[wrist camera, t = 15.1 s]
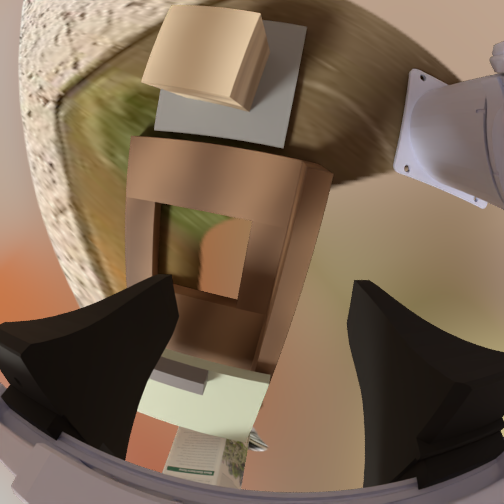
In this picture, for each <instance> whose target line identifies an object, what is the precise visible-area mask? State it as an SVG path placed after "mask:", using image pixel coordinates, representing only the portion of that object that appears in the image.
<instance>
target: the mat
mask: <svg viewBox="0 0 504 504" xmlns="http://www.w3.org/2000/svg"><path fill="white" fill-rule="evenodd" d="M262 21H263V25H264V29H265V33H266V37H267V41H268V45H269V49H270V54H269V57H268V59H267V62H266V65H265V68H264V71H263V73H262V76H261V79H260V82H259V85H258V88H257V91H256V94H255V97H254V100H253V103H252V106H251V109H250V112H247V111H243V110H240V109H236V108H232V107H228V106H223V105H219V104H215V103H210V102H206V101H201V100H196V99H191V98H185V97H183V96H180V95H177V94H175V93H172V92H169V91H166V90H163V89H161V91H160V97H159V102H158V108H157V114H156V120H155V127H154V130H156V131H169V132H180V133H189V134H198V135H206V136H214V137H221V138H228V139H235V140H241V141H247V142H253V143H258V144H264V145H269V146H274V147H279V148H284V143H285V138H286V133H287V128H288V123H289V118H290V113H291V108H292V103H293V98H294V93H295V88H296V82H297V77H298V72H299V67H300V62H301V57H302V51H303V46H304V41H305V36H306V30H307V27H306V26H300V25H295V24H289V23H282V22H275V21H267V20H262Z"/></svg>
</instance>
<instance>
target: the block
mask: <svg viewBox="0 0 504 504" xmlns="http://www.w3.org/2000/svg"><path fill="white" fill-rule="evenodd" d="M269 54H270V49H269V45H268V41H267V37H266V33H265V29H264V25H263V21H262V17H261V13H256V12H250V11H244V10H237V9H229V8H220V7H209V6H192V5H171V7H170V9H169V11H168V13H167V15H166V18H165V20H164V22H163V25H162V27H161V29H160V32H159V34H158V37H157V39H156V42H155V44H154V47H153V49H152V52H151V55H150V58H149V60H148V63H147V66H146V69H145V72H144V75H143V78H142V83H145V84H148V85H151V86H154V87H157V88H160V89H163V90H166V91H169V92H172V93H175V94H177V95H180V96H183V97H185V98H191V99H196V100H201V101H206V102H210V103H215V104H219V105H223V106H228V107H232V108H236V109H240V110H243V111H247V112H250V109H251V106H252V103H253V100H254V97H255V94H256V91H257V88H258V85H259V82H260V79H261V76H262V73H263V71H264V68H265V65H266V62H267V59H268V57H269Z"/></svg>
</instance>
